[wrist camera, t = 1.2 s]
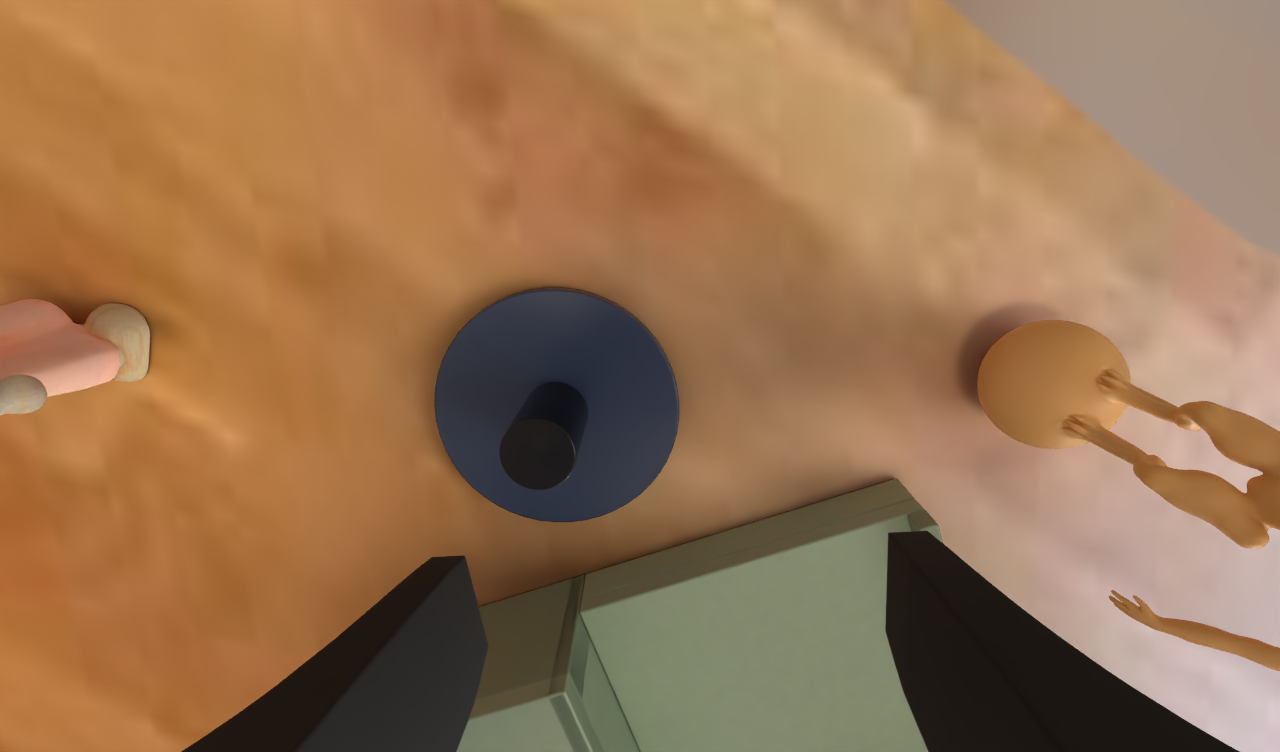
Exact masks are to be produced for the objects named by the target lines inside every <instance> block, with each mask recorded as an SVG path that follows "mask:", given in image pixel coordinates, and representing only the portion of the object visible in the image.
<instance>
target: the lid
mask: <svg viewBox="0 0 1280 752" xmlns="http://www.w3.org/2000/svg"><path fill="white" fill-rule="evenodd" d="M435 414H436V422H437V426H438V430H439V434H440V437H441V440H442V442H443V445H444V447H445V450H446V452H447V453H448V455H449V457H450V459H451V461H452V463H453V464H454V465H455V467H456V468H457V470H458V471H459V472H460V474H461V475H462V476H463V477H464V478H465V480H466V481H467V482H468V483H469V484H470V485H471V486H472V487H473V488H474V489H476V490H477V491H478V492H479V493H480V494H481V495H483V496H484V497H485V498H487V499H488V500H490V501H491V502H493V503H494V504H496V505H498V506H500V507H502V508H504V509H506V510H508V511H510V512H512V513H515V514H518V515H521V516H523V517H527V518H531V519H536V520H540V521H549V522H574V521H582V520H588V519H592V518H596V517H599V516H602V515H605V514H607V513H610V512H612V511H615V510H616V509H618V508H620V507H622V506H624V505H626V504H627V503H629V502H630V501H632V500H633V499H634V498H636V497H637V496H638V495H640V494H641V493H642V492H643V491H644V490H645V489H646V488H647V487H648V486H649V485H650V484H651V483H652V482H653V480H654V479H655V478H656V477H657V476H658V474H659V473H660V471H661V470H662V468H663V466H664V465H665V463H666V462H667V460H668V457H669V455H670V453H671V450H672V448H673V445H674V442H675V438H676V435H677V429H678V422H679V399H678V392H677V384H676V381H675V377H674V373H673V370H672V367H671V365H670V363H669V360H668V358H667V356H666V354H665V352H664V350H663V349H662V347H661V345H660V344H659V342H658V341H657V339H656V338H655V337H654V336H653V334H652V333H651V332H650V331H649V329H648V328H647V327H646V326H645V325H644V324H643V323H642V322H641V321H639V320H638V319H637V318H636V317H635V316H634V315H632V314H631V313H630V312H628V311H627V310H626V309H624V308H623V307H621V306H619V305H617V304H616V303H614V302H612V301H610V300H608V299H606V298H603V297H601V296H598V295H596V294H593V293H589V292H585V291H581V290H577V289H569V288H539V289H532V290H527V291H523V292H520V293H516V294H513V295H510V296H508V297H506V298H503V299H501V300H499V301H497V302H495V303H494V304H492V305H490V306H489V307H487V308H486V309H484V310H482V311H481V312H480V313H478V314H477V315H476V316H475V317H474V318H472V319H471V320H470V321H469V322H468V323H467V324H466V325H465V326H464V327H463V328H462V329H461V331H460V332H459V333H458V334H457V335H456V337H455V338H454V340H453V341H452V343H451V344H450V346H449V348H448V350H447V352H446V354H445V356H444V358H443V360H442V363H441V366H440V369H439V372H438V376H437V381H436V387H435Z"/></svg>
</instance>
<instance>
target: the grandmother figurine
mask: <svg viewBox="0 0 1280 752" xmlns="http://www.w3.org/2000/svg"><path fill="white" fill-rule="evenodd" d="M149 348H150V330H149V327H148V324H147V322H146V320H145V318H144V317H143V316H142V315H141V314H140V313H139V311H137V310H136V309H134V308H132V307H130V306H128V305H123V304H116V303H108V304H104V305H101V306H99V307H98V308H96V309H95V310H94V311H93V312H91V313H90V315H89V316H88V318H87V320H86V322H85V324H83V325H80V324H76V323H73V322H72V320H71V319H70V318H69V317H68V316H67V315H66V313H65V312H64V311H62V310H61V309H60V308H59V307H58V306H55V305H54V304H52V303H50V302H47V301H43V300H38V299H25V300H21V301H17V302H13V303H9V304H5V305H1V306H0V416H1V415H3V414H25V413H30V412H33V411H35V410H37V409H39V408H40V407H42V406H43V404H44V403H45V401H46V399H47V397H49V396H53V395H57V394H63V393H68V392H75V391H79V390H83V389H87V388H90V387H93V386H96V385H99V384H103V383H106V382H109V381H110V380H115V381H120V382H134V381H138V380H140V379H142V378H143V377H144V376H145V375H146V373H147V371H148V364H149Z"/></svg>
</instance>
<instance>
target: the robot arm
mask: <svg viewBox="0 0 1280 752" xmlns="http://www.w3.org/2000/svg"><path fill="white" fill-rule="evenodd" d="M885 631H886V635H887V638H888V642H889V645H890V649H891V652H892V656H893V659H894V663H895V666H896V670H897V673H898V676H899V679H900V683H901V686H902V689H903V692H904V695H905V697H906V700H907V702H908V704H909V707H910V709H911V712H912V714H913V716H914V719H915V721H916V724H917V726H918V728H919V731H920V733H921V735H922V738H923V740H924V743H925V745H926V747H927V750H928V752H1239V751H1237V750H1235V749H1234V748H1232V747H1230V746H1228V745H1226V744H1225V743H1223V742H1221V741H1220V740H1218V739H1216V738H1214V737H1213V736H1211V735H1209V734H1208V733H1206V732H1204V731H1202V730H1201V729H1199V728H1197V727H1196V726H1194V725H1192V724H1190V723H1189V722H1187V721H1186V720H1184V719H1182V718H1181V717H1179V716H1178V715H1176V714H1174V713H1173V712H1171V711H1170V710H1168V709H1166V708H1165V707H1163V706H1162V705H1160V704H1158V703H1157V702H1155V701H1154V700H1152V699H1150V698H1149V697H1147V696H1146V695H1144V694H1142V693H1141V692H1139V691H1138V690H1136V689H1134V688H1133V687H1131V686H1130V685H1128V684H1127V683H1125V682H1124V681H1122V680H1121V679H1119V678H1118V677H1116V676H1115V675H1113V674H1112V673H1110V672H1109V671H1107V670H1106V669H1104V668H1103V667H1101V666H1100V665H1098V664H1097V663H1096V662H1094V661H1093V660H1091V659H1090V658H1089V657H1087V656H1086V655H1084V654H1083V653H1081V652H1080V651H1079V650H1077V649H1076V648H1074V647H1073V646H1072V645H1070V644H1069V643H1067V642H1066V641H1065V640H1063V639H1062V638H1060V637H1059V636H1058V635H1056V634H1055V633H1054V632H1052V631H1051V630H1050V629H1048V628H1047V627H1046V626H1044V625H1043V624H1042V623H1040V622H1039V621H1038V620H1036V619H1035V618H1034V617H1032V616H1031V615H1030V614H1028V613H1027V612H1026V611H1025V610H1023V609H1022V608H1021V607H1019V606H1018V605H1017V604H1016V603H1014V602H1013V601H1012V600H1011V599H1009V598H1008V597H1007V596H1006V595H1004V594H1003V593H1002V592H1001V591H999V590H998V589H997V588H996V587H994V586H993V585H992V584H991V583H989V582H988V581H987V580H986V579H985V578H983V577H982V576H981V575H980V574H979V573H977V572H976V571H975V570H974V569H973V568H971V567H970V566H969V565H968V564H967V563H965V562H964V561H963V560H962V559H961V558H959V557H958V556H957V555H956V554H955V553H954V552H952V551H951V550H950V549H949V548H948V547H946V546H945V545H944V544H943V543H942V542H940V541H939V540H938V539H937V538H936V537H934V536H933V535H932V534H931V533H930V532H928V531H910V532H892V533H888V557H887V591H886V626H885ZM488 646H489V645H488V641H487V638H486V634H485V630H484V626H483V623H482V619H481V615H480V611H479V608H478V604H477V600H476V596H475V593H474V589H473V585H472V581H471V577H470V574H469V570H468V566H467V562H466V559H465V556H447V557H432V558H430V559H429V560H428V561H426V562H425V563H424V564H422V565H421V566H420V567H419V568H417V569H416V570H415V571H414V572H413V573H411V574H410V575H409V576H408V577H407V578H406V579H404V580H403V581H402V582H401V583H400V584H399V585H397V586H396V587H395V588H394V589H393V590H392V591H390V592H389V593H388V594H387V595H386V596H385V597H384V598H382V599H381V600H380V601H379V602H378V603H377V604H375V605H374V606H373V607H372V608H371V609H370V610H368V611H367V612H366V613H365V614H364V615H363V616H361V617H360V618H359V619H358V620H357V621H356V622H354V623H353V624H352V625H351V626H350V627H348V628H347V629H346V630H345V631H344V632H343V633H341V634H340V635H339V636H338V637H337V638H336V639H334V640H333V641H332V642H331V643H329V644H328V645H327V646H326V647H324V648H323V649H322V650H321V651H319V652H318V653H317V654H316V655H314V656H313V657H312V658H311V659H309V660H308V661H307V662H305V663H304V664H303V665H302V666H300V667H299V668H298V669H297V670H295V671H294V672H293V673H292V674H290V675H289V676H288V677H287V678H285V679H284V680H283V681H282V682H280V683H279V684H278V685H277V686H275V687H274V688H273V689H271V690H270V691H269V692H267V693H266V694H265V695H263V696H262V697H260V698H259V699H258V700H256V701H255V702H254V703H252V704H251V705H249V706H248V707H247V708H245V709H244V710H243V711H241V712H240V713H238V714H237V715H235V716H234V717H232V718H231V719H229V720H228V721H227V722H225V723H224V724H222V725H221V726H219V727H218V728H216V729H215V730H214V731H212V732H211V733H209V734H208V735H206V736H205V737H203V738H202V739H200V740H199V741H197V742H196V743H194V744H193V745H191V746H190V747H188V748H186V749H185V750H183V751H182V752H457V749H458V747H459V744H460V741H461V739H462V736H463V733H464V731H465V728H466V725H467V723H468V720H469V717H470V715H471V712H472V709H473V706H474V703H475V700H476V696H477V692H478V688H479V684H480V681H481V677H482V672H483V668H484V664H485V659H486V655H487V651H488Z"/></svg>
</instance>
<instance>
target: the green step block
mask: <svg viewBox="0 0 1280 752" xmlns="http://www.w3.org/2000/svg"><path fill="white" fill-rule="evenodd" d="M910 531H928V532H930V533H931V534H932V535H933V536H934V537H936V538H937V539H938V540H939V541H940V542H942V538H941V534H940V530H939V526H938V524H937V523H936V522H935V520H934V519H933V518H932V517H931V516H930V515H929V514H928V513H927V511H926V510H924V509H923V507H922V506H921V505H920V504H919V503H918V502H917V501H916V500H915V498H914V497H913V496H912V495H911V494H910V493H909V492H908V490H907V489H906V488H905V487H904V486H903V485H902V484H901V483H900V482H899V480H898V479H893V480H890V481H886V482H883V483H880V484H877V485H873V486H870V487H867V488H864V489H860V490H857V491H854V492H851V493H847V494H844V495H841V496H838V497H834V498H831V499H828V500H825V501H821V502H818V503H815V504H812V505H808V506H805V507H802V508H799V509H795V510H792V511H789V512H786V513H783V514H779V515H776V516H773V517H770V518H766V519H763V520H760V521H757V522H753V523H750V524H747V525H744V526H740V527H737V528H734V529H731V530H727V531H724V532H721V533H718V534H714V535H711V536H708V537H705V538H701V539H698V540H695V541H692V542H689V543H685V544H682V545H679V546H676V547H672V548H669V549H666V550H663V551H659V552H656V553H653V554H650V555H646V556H643V557H640V558H637V559H633V560H630V561H627V562H624V563H620V564H617V565H614V566H611V567H607V568H604V569H601V570H598V571H594V572H591V573H588V574H586V576H585V575H581V576H578V577H575V578H571V579H568V580H565V581H562V582H558V583H555V584H552V585H549V586H545V587H542V588H539V589H536V590H532V591H529V592H526V593H523V594H520V595H516V596H513V597H510V598H507V599H503V600H500V601H497V602H494V603H490V604H487V605H484V606H481V607H478V608H479V611H480V615H481V619H482V623H483V626H484V630H485V634H486V638H487V641H488V645H489V646H488V651H487V655H486V659H485V664H484V668H483V672H482V677H481V681H480V684H479V688H478V692H477V696H476V700H475V703H474V706H473V709H472V712H471V715H470V717H469V720H468V723H467V725H466V728H465V731H464V733H463V736H462V739H461V741H460V744H459V747H458V749H457V752H928V750H927V747H926V745H925V743H924V740H923V738H922V735H921V733H920V731H919V728H918V726H917V724H916V721H915V719H914V716H913V714H912V712H911V709H910V707H909V704H908V702H907V700H906V697H905V695H904V692H903V689H902V686H901V683H900V679H899V676H898V673H897V670H896V666H895V663H894V659H893V656H892V652H891V649H890V645H889V642H888V638H887V635H886V631H885V626H886V591H887V557H888V533H892V532H910ZM942 543H943V542H942Z"/></svg>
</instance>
